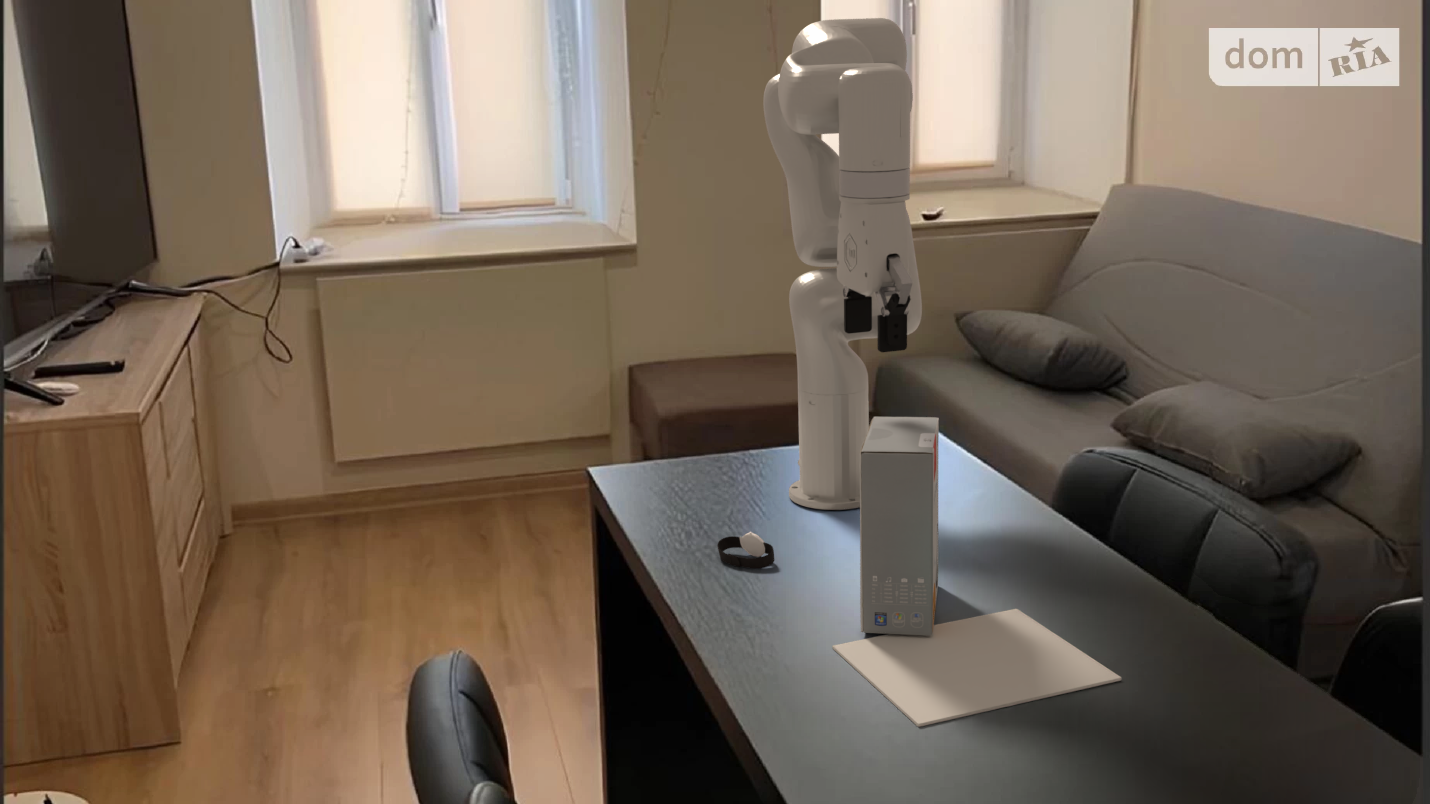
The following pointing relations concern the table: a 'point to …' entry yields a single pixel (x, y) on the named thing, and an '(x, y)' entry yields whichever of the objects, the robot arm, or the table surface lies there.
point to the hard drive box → (899, 526)
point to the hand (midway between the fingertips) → (874, 341)
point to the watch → (751, 546)
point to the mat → (973, 666)
